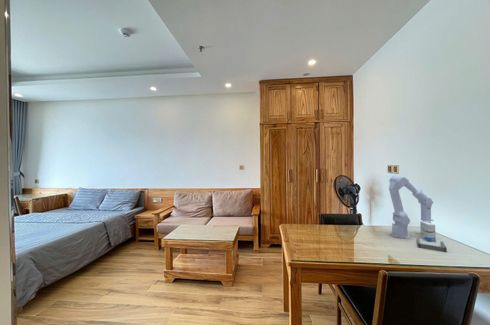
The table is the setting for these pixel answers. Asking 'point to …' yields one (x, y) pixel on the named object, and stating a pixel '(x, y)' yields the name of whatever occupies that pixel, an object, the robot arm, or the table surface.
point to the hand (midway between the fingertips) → (426, 231)
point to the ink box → (427, 231)
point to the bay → (432, 246)
